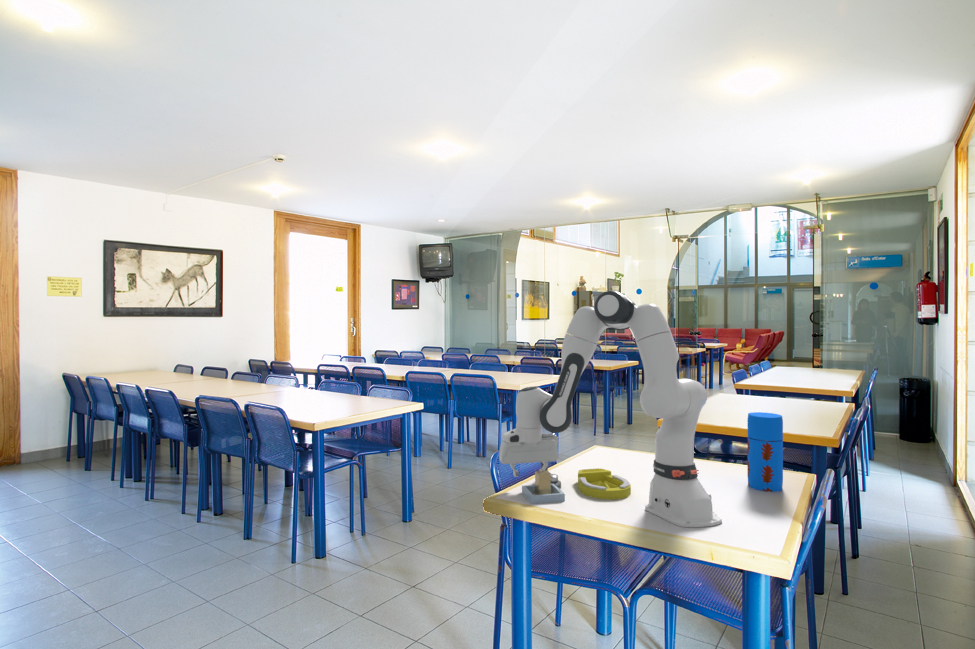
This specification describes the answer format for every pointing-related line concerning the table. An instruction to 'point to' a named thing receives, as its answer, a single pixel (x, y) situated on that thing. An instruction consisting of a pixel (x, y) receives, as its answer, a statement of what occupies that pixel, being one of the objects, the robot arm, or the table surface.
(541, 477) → the block
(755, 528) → the table surface
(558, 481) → the plinth
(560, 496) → the tray
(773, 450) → the thermos
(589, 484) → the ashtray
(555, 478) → the crank
